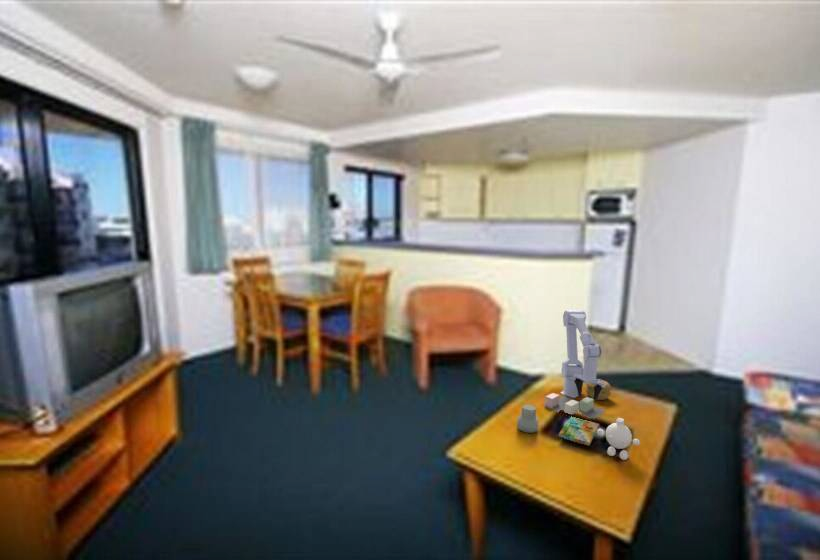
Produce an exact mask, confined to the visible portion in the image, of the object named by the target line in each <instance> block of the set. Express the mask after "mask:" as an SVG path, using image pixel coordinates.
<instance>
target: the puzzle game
mask: <svg viewBox="0 0 820 560" xmlns="http://www.w3.org/2000/svg"><path fill="white" fill-rule="evenodd" d="M598 429H600V423H597V422H593V421H587V420H583V419H580V418H576V417H572V416H571V417H570V416H569V419H567V421H566V423H565V424H564V425H563V427H562V428H561V430H560V431H559V433H558V437H560V438H562V439H563V438H564V440H566V439H567V441H569V440H570V442H572V441H573V443H576V442H577V443H576V444H579V443H580V445H582V444H584V445H583V446H585V445H587V446H586V447H588V446H589V447H590V445H591V443H592V441H593V439H594V437H595V436H596V433H597V430H598Z"/></svg>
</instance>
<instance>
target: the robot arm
mask: <svg viewBox="0 0 820 560" xmlns="http://www.w3.org/2000/svg"><path fill="white" fill-rule="evenodd" d="M586 320H587V314H586V312H585V310H583V309H582V310H571V309H566V310H564V312H563V315H562V321H563V322H562V323H563V326H564V327H565V329H566V350H567V351H566V353H567V358H566V359H565V360H564V361H563V362H562V363H561V365H562V366H561V375H562V377H563V378H564V381H563V390H562V391H561V392H559V394H562V395H563V396H566V397H569V398H572V399H576V398H578V397H579V396H581V395H583V385H584V383H587V382H588V383H591V384H595V385H596V386H594V401H598V400H597V398H598V395H599V393H600V391H601V390H602V389H603V388H604V387H605V382H602V381H600V380H601V379H600V380H597V379H598V378H597V371H598V360H599V358H600V357H601V355H602V348H601V345H599V344H598V343H596V341H595V338H594V336H593V334H592V333H591V332H589V331H588V328H587V324H586ZM577 330H578V332H579V340H580V342H581V344H582V347H583V349H582V353H583V360H584V362H582V361H580V359H579V356H578V337H577Z"/></svg>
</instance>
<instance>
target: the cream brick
mask: <svg viewBox="0 0 820 560" xmlns="http://www.w3.org/2000/svg"><path fill="white" fill-rule="evenodd" d="M575 400H576V399H574V400H570V401H569V402H567V403H565V408H564V412H565V413H568V414H571V415H572V414H574V413H576V412H578V409H579V402H578V401H579V400H577V401H575Z"/></svg>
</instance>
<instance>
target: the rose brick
mask: <svg viewBox="0 0 820 560" xmlns="http://www.w3.org/2000/svg"><path fill="white" fill-rule="evenodd" d="M544 398H545V400H544V405H545V406H547V407H550V408H552V407H554V406H556V405H558V404H559V398H560V394H558V393H554V392H552V393H550V394H547V395H545V397H544Z"/></svg>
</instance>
